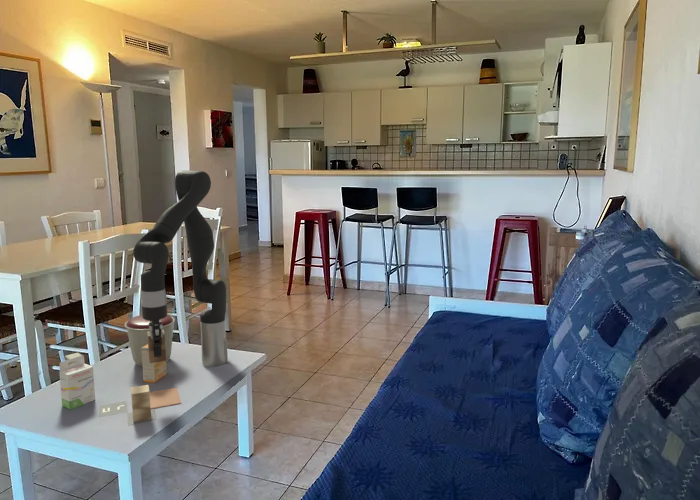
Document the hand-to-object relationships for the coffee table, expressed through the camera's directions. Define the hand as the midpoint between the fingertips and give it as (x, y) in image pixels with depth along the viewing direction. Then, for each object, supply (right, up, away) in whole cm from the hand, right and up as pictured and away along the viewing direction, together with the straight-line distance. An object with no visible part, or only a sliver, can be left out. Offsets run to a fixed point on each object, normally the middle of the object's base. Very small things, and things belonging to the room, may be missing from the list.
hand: (157, 353), depth 163 cm
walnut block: (0, -2, 0) cm, 2 cm away
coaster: (0, -16, +3) cm, 16 cm away
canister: (-15, -10, +33) cm, 38 cm away
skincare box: (-31, -15, +9) cm, 35 cm away
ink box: (-25, -16, 0) cm, 30 cm away
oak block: (-1, -18, -9) cm, 20 cm away
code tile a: (-12, -17, -4) cm, 21 cm away
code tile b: (-1, -18, -9) cm, 20 cm away
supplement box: (-8, -13, +19) cm, 24 cm away
